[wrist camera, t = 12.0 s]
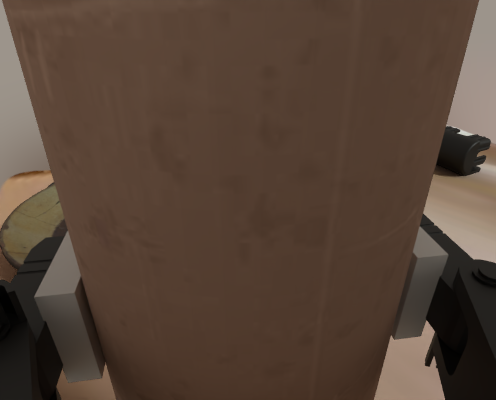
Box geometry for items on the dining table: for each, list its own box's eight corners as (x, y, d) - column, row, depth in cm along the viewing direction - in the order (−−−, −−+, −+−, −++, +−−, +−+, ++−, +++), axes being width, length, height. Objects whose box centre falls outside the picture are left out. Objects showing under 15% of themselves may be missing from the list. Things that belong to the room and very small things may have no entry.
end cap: (411, 160, 70) (418, 127, 67) (435, 154, 73) (444, 121, 70) (457, 180, 62) (468, 143, 59) (483, 172, 65) (495, 136, 62)
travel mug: (177, 385, 19) (96, -123, 9) (327, 393, 18) (417, -131, 8) (124, 601, 12) (-461, -502, 2) (358, 622, 12) (987, -632, 2)
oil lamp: (172, 187, 61) (167, 145, 58) (233, 310, 37) (231, 250, 33) (24, 214, 54) (7, 167, 50) (-20, 389, 30) (-59, 324, 26)
